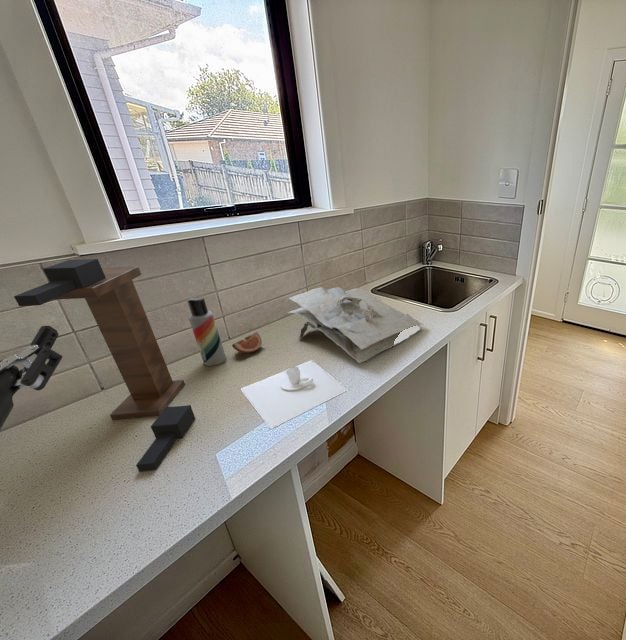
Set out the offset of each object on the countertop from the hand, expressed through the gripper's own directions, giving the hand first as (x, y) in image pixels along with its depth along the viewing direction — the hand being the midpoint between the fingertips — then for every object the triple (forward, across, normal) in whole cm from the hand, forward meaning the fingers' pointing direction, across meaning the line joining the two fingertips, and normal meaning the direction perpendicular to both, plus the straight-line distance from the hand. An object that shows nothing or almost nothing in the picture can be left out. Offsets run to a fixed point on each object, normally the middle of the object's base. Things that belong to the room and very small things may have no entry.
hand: (19, 329), depth 53 cm
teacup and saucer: (+1, -34, +34) cm, 48 cm away
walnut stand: (0, 0, +34) cm, 34 cm away
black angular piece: (-12, -11, +27) cm, 31 cm away
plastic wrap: (+26, -50, +49) cm, 75 cm away
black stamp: (+10, 0, +3) cm, 11 cm away
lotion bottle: (+16, -8, +43) cm, 47 cm away
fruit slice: (+19, -16, +45) cm, 52 cm away
